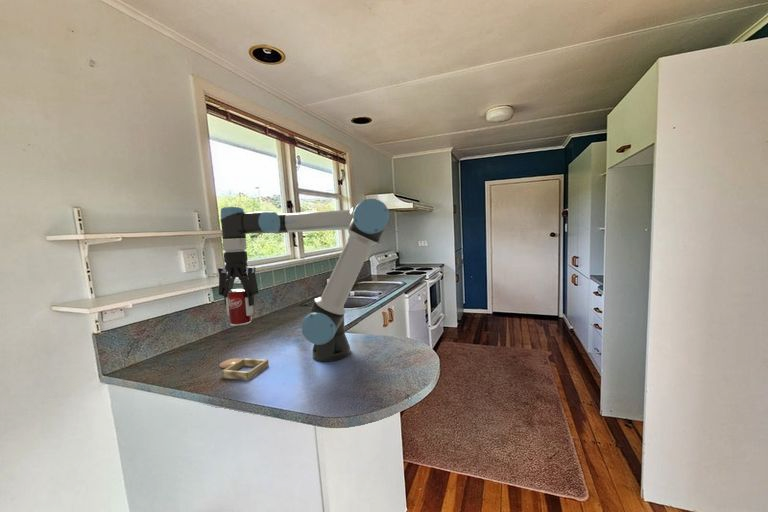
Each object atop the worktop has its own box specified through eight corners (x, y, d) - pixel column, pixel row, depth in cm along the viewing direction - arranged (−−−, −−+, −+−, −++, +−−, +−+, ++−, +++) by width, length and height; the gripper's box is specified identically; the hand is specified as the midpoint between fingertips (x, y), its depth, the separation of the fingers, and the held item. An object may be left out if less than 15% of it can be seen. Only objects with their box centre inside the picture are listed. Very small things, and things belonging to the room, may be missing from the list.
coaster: (247, 360, 121) (247, 358, 121) (232, 368, 113) (232, 367, 113) (230, 359, 123) (229, 357, 123) (214, 367, 115) (214, 366, 115)
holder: (268, 366, 114) (268, 359, 114) (249, 380, 104) (248, 373, 103) (243, 364, 117) (243, 358, 117) (222, 377, 106) (221, 371, 106)
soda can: (237, 327, 104) (234, 292, 104) (225, 324, 108) (222, 291, 107) (256, 321, 111) (253, 288, 110) (243, 319, 114) (241, 287, 114)
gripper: (266, 249, 109) (271, 312, 111) (219, 251, 113) (223, 311, 115) (253, 250, 102) (258, 317, 103) (203, 252, 106) (208, 316, 108)
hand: (240, 314), depth 109 cm, fingers closed on soda can, 7 cm apart
